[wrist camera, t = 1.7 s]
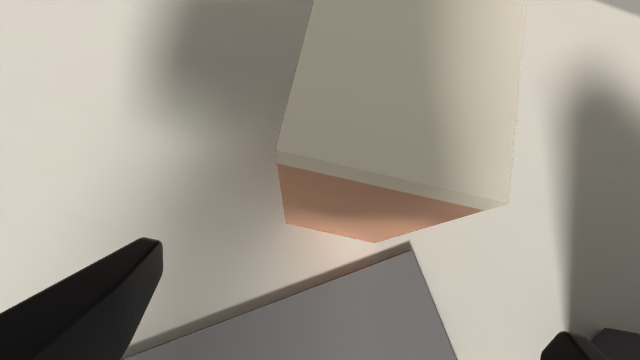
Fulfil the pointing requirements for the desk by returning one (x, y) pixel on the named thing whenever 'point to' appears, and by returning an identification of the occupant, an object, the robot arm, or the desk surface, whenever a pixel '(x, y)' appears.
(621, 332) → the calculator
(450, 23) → the peach block
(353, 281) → the grey mat
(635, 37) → the desk surface
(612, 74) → the desk surface
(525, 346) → the desk surface
